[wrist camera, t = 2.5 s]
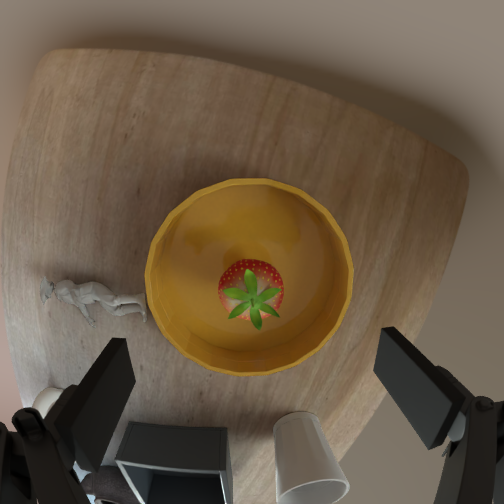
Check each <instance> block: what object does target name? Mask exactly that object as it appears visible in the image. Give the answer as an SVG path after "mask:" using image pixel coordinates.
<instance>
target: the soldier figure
mask: <svg viewBox="0 0 504 504" xmlns="http://www.w3.org/2000/svg"><path fill="white" fill-rule="evenodd" d="M53 289H54V292H55V294H56V296H57V299H59V300H60V301H61V300H63V301H64V302H65V303H68V304H74V305H76V306H78V308H79V309H80V310H81V312H82V313H83V315H84V317H85V318H86V320H87V321H88V323H89V324H90V325H91V326H92V327H94V328H96V327H95V325H93V324H92V321H94V320H92V319H91V318H90V317H89V313H88V311H87V309H86V306H85V304H95V301H98V302H99V303H100V304H101V306H102V307H103V308H104V309H105V310H107V311H108V312H110V313H111V314H113V315H115V316H119V315H121V316H123V315H124V314H128V313H132V312H138V311H139V312H140V313H141V314H142V316H143V321H144V322H146V321H147V312H146V309H147V306H146V302H145V300H146V296H145V293H141V294H138V295H118V296H117V295H115V294H114V293H113V292H112V291H111V290H109V289H108V288H107V287H106V286H104V285H102V284H101V283H98V282H87V283H83V284H81V285H78V284H76V283H73V282H72V281H71V280H62V281H59V282H58V283H57V285H56V286H55V288H54V283H53V282H52V281H51V282H49V281H47V279H46V277H45V276H44V278H43V280H42V282H41V285H40V296H41V300H42V303H43V305H44V303H45V302H46V300H47V299H48V298H51V293H52V292H53ZM126 303H139V304H127V305H122V306H118V305H120V304H126ZM94 322H95V321H94Z"/></svg>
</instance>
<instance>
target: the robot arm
mask: <svg viewBox="0 0 504 504" xmlns="http://www.w3.org/2000/svg"><path fill="white" fill-rule="evenodd" d="M373 371H374V373H375V374H376V375H377V377H378V378H379V380H380V381H381V382H382V384H383V385H384V387H385V388H386V389H387V391H388V392H389V394H390V395H391V396H392V398H393V399H394V401H395V402H396V404H397V405H398V406H399V408H400V409H401V411H402V412H403V414H404V415H405V416H406V418H407V419H408V421H409V422H410V424H411V425H412V427H413V428H414V430H415V431H416V432H417V434H418V435H419V437H420V438H421V440H422V441H423V443H424V444H425V446H426V447H427V449H428V450H430V449H433V448H435V447H437V446H440V445H442V444H443V442H444V440H445V438H446V437H447V435H448V436H449V438H450V439H451V441H450V442H449V444H448V446H447V448H446V449H445V451H444V452H443V454H442V456H444V455H445V454H446V453H447V454H446V459H445V463H444V467H443V472H442V476H441V480H440V484H439V487H438V490H437V494H436V497H435V501H434V504H492V499H493V502H494V504H504V401H501V402H495V403H494V402H493V400H491V399H490V398H488V397H484V396H477V397H475V396H473V394H472V393H471V392H470V391H469V390H468V389H467V388H465V386H463V385H462V384H461V383H460V382H458V380H457V379H456V378H455V377H453V375H452V374H451V373H450V372H449V371H448V370H446V369H445V368H443V367H441V366H434V365H433V364H432V363H431V362H430V361H429V360H428V359H427V358H426V357H425V356H424V355H423V354H422V353H421V352H420V351H419V350H418V349H417V348H416V347H415V346H414V345H413V344H412V343H411V342H410V341H408V340H407V339H406V338H405V337H404V336H403V335H402V334H401V333H400V332H399V331H398V330H397V329H396V328H395V327H394V326H393V327H386V328H382V329H381V334H380V340H379V345H378V350H377V355H376V360H375V364H374V369H373ZM135 383H136V380H135V376H134V372H133V368H132V364H131V360H130V356H129V351H128V347H127V342H126V338H112V339H111V340H110V341H109V343H108V344H107V346H106V347H105V348H104V350H103V351H102V352H101V354H100V355H99V357H98V358H97V359H96V361H95V362H94V364H93V365H92V366H91V368H90V369H89V371H88V372H87V374H86V375H85V376H84V378H83V379H82V381H81V382H80V384H79V385H73V384H72V385H70V386H69V387H67V388H66V389H65V390H63V392H62V393H61V395H60V396H59V399H57V400H56V402H55V405H54V404H53V406H52V407H51V409H50V410H49V412H48V413H47V414H46V416H45V417H44V419H43V418H42V416H41V414H40V412H39V411H38V410H37V409H35V408H31V407H28V408H23V409H20V410H18V411H17V412H16V413H15V414H14V416H13V417H12V423H13V425H14V427H15V428H16V430H17V432H11V431H8V429H7V427H6V426H5V424H3V423H2V422H0V504H37V499H38V502H39V504H91V503H90V501H89V499H88V497H87V495H86V493H85V491H84V489H83V487H82V485H81V483H80V481H79V479H78V476H77V474H76V472H75V470H74V469H73V465H74V463H75V461H76V462H77V464H78V466H79V467H80V469H82V470H86V471H89V472H93V473H98V470H99V468H100V465H101V463H102V460H103V458H104V455H105V453H106V450H107V448H108V445H109V443H110V440H111V438H112V436H113V433H114V431H115V428H116V426H117V424H118V421H119V419H120V417H121V414H122V412H123V410H124V407H125V405H126V403H127V401H128V398H129V396H130V394H131V392H132V389H133V387H134V385H135Z"/></svg>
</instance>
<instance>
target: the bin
mask: <svg viewBox="0 0 504 504" xmlns="http://www.w3.org/2000/svg"><path fill="white" fill-rule="evenodd" d="M115 461H116V463H117V465H118V467H119V468H120V470H121V472H122V474H123V475H124V477H125V479H126V481H127V482H128V484H129V486H130V487H131V489H132V490H133V492H134V494H135V495H136V497H137V498H138V500H139V501H140V503H141V504H233V478H232V469H231V461H230V452H229V443H228V433H227V428H204V427H181V426H167V425H155V424H146V423H137V422H130V421H129V423H128V426H127V428H126V431H125V433H124V436H123V438H122V441H121V444H120V446H119V449H118V451H117V454H116V457H115Z"/></svg>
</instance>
